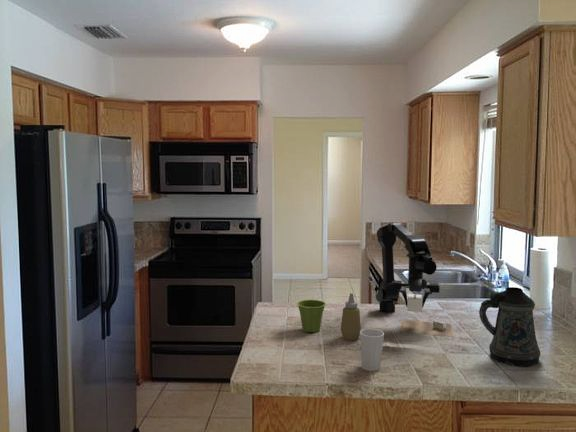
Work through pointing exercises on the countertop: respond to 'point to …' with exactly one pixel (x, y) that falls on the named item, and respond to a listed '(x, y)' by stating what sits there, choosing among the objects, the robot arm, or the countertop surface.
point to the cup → (371, 349)
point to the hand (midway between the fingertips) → (414, 307)
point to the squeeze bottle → (351, 320)
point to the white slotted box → (414, 303)
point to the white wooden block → (439, 325)
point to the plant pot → (311, 314)
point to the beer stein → (512, 328)
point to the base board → (424, 328)
